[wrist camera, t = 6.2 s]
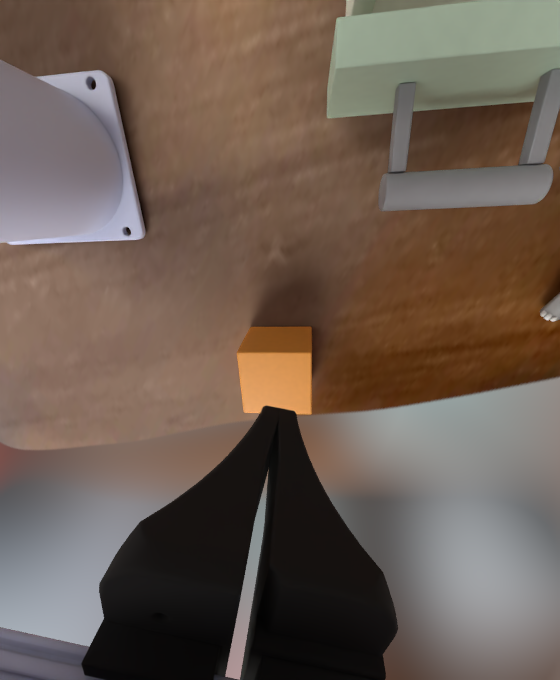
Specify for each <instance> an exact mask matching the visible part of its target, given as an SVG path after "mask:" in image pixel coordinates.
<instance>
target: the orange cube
mask: <svg viewBox="0 0 560 680" xmlns="http://www.w3.org/2000/svg"><path fill="white" fill-rule="evenodd" d="M237 358H238V367H239V375H240V384H241V393H242V401H243V410H244V412H245V413H260V412H261V410H262V408H263V407H264V406H266V405H267V406H272V407H277V408H282V409H287V410H292V411H295V413H296V414H312V327H250V329H249V331H248V333H247V334H246V336H245V338H244V340H243V342H242V344H241V346H240V348H239V349H238V351H237Z"/></svg>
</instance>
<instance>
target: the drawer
mask: <svg viewBox="0 0 560 680" xmlns="http://www.w3.org/2000/svg"><path fill="white" fill-rule="evenodd" d="M522 102H534V104H533V108H532V112H531V116H530V120H529V124H528V128H527V132H526V136H525V140H524V144H523V148H522V152H521V156H520V160H519V164H518V166H502V167H486V168H469V169H453V170H436V171H420V172H405V171H406V167H407V159H408V150H409V141H410V133H411V124H412V115H413V111H424V110H437V109H449V108H461V107H473V106H485V105H497V104H510V103H522ZM559 108H560V0H346V16H345V17H338V18H337V20H336V26H335V34H334V42H333V49H332V57H331V64H330V72H329V80H328V87H327V118H339V117H351V116H364V115H376V114H388V113H393V122H392V132H391V143H390V154H389V165H388V173H387V174H384V175H383V177H382V179H381V183H380V188H379V209H380V211H399V210H420V209H441V208H463V207H484V206H505V205H527V204H535V203H537V202H539V201H541V200H542V199H543V198H544V197H545V195H546V194H547V192H548V191H549V189H550V187H551V184H552V180H553V170H552V168H551V166H550V165H548V164H542V163H544V162H545V158H546V155H547V151H548V148H549V144H550V140H551V137H552V133H553V130H554V126H555V123H556V119H557V115H558V112H559Z"/></svg>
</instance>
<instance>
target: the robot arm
mask: <svg viewBox="0 0 560 680" xmlns="http://www.w3.org/2000/svg"><path fill="white" fill-rule="evenodd" d="M94 80H95V82H96V88H95V89H94V90H93V89H92V85H91V83H92V81H94ZM127 227H128V228H129V229H130V230H131V234H130V235H129V234H128V233H127V231H126V229H127ZM145 234H146V232H145V226H144V221H143V217H142V212H141V208H140V203H139V198H138V194H137V189H136V184H135V180H134V175H133V171H132V166H131V161H130V157H129V152H128V148H127V143H126V138H125V134H124V129H123V124H122V120H121V115H120V111H119V106H118V101H117V97H116V92H115V88H114V84H113V81H112V79H111V77H110V76H109V75H107V74H106V73H104V72H103V71H101V70H93V71H84V72H75V73H66V74H57V75H47V76H38V77H34V76H32V75H30V74H28V73H26V72H24V71H22V70H20V69H18V68H16V67H14V66H12V65H10V64H8V63H6V62H4V61H2V60H0V243H2V242H7V243H8V244H11V245H17V244H42V243H67V242H92V241H117V240H138V239H142V238H144V237H145ZM268 469H269V472H268ZM267 472H268V485H267V498H266V512H265V524H264V533H263V540H262V546H261V554H260V559H259V566H258V572H257V578H256V584H255V591H254V597H253V604H252V609H251V616H250V622H249V628H248V634H247V640H246V646H245V652H244V659H243V665H242V671H241V677H240V680H385V678H386V673H385V666H384V661H383V653H384V652H385V650H386V649H387V647H388V646H389V644H390V643H391V642H392V640H393V639H394V637H395V635H396V633H397V630H398V625H397V619H396V613H395V609H394V605H393V601H392V598H391V595H390V592H389V588H388V585H387V582H386V580H385V577H384V574H383V572H382V571H381V569H380V568H379V567H378V566H377V565H376V563H375V562H374V561H373V560H372V558H371V557H370V556H369V555H368V554H367V552H366V551H365V550H364V549H363V548H362V546H361V545H360V544H359V542H358V541H357V540H356V538H355V537H354V535H353V534H352V533H351V531H350V530H349V529H348V527H347V526H346V524H345V523H344V521H343V519H342V518H341V517H340V515H339V514H338V512H337V510H336V509H335V507H334V506H333V504H332V502H331V501H330V499H329V497H328V496H327V494H326V492H325V490H324V488H323V486H322V484H321V482H320V481H319V479H318V476H317V475H316V472H315V470H314V468H313V466H312V463H311V461H310V459H309V456H308V454H307V451H306V448H305V445H304V442H303V440H302V437H301V433H300V429H299V426H298V421H297V415H296V413H295V411H292V410H287V409H282V408H277V407H272V406H267V405H266V406H264V407H263V408H262V410H261V412H260V414H259V416H258V418H257V419H256V421H255V422H254V424H253V425H252V427H251V428H250V430H249V431H248V432H247V433H246V435H245V436H244V438H243V439H242V440H241V441H240V442H239V443H238V444H237V446H236V447H235V448H234V449H233V450H232V451H231V452H230V453H229V455H228V456H227V457H226V458H225V459H224V460H223V461H222V462H221V463H220V464H219V465H217V467H215V468H214V469H213V470H212V471H211V472H210V473H209V474H207V475H206V476H205V477H204V478H203V479H202V480H201V481H199V482H198V483H197V484H196V485H194V486H193V487H192V488H190V489H189V490H188V491H186V492H185V493H184V494H182V495H181V496H179V497H178V498H177V499H175V500H174V501H172V502H171V503H169V504H168V505H166V506H165V507H163V508H162V509H160V510H159V511H157V512H155V513H154V514H152V515H150V516H149V517H147V518H146V519H144V520H142V521H141V522H140V523H139V524H138V525H137V527H136V528H135V529H134V530H133V531H132V533H131V534H130V535H129V537H128V538H127V539H126V541H125V542H124V544H123V545H122V546H121V548H120V549H119V551H118V552H117V554H116V555H115V557H114V559H113V561H112V562H111V564H110V566H109V568H108V570H107V571H106V573H105V575H104V577H103V578H102V580H101V582H100V585H99V586H100V587H99V593H100V598H101V603H102V608H103V614H104V620H103V622H102V624H101V626H100V628H99V630H98V632H97V633H96V636H95V637H94V639H93V642H92V643H91V645H90V647H88V646H83V645H78V644H74V643H69V642H64V641H60V640H55V639H51V638H47V637H42V636H37V635H33V634H28V633H24V632H19V631H15V630H10V629H6V628H1V627H0V680H237V679H233V678H228V677H225V674H226V669H227V663H228V658H229V653H230V648H231V643H232V638H233V633H234V628H235V623H236V618H237V612H238V607H239V602H240V597H241V591H242V586H243V580H244V575H245V570H246V564H247V559H248V553H249V548H250V542H251V537H252V531H253V525H254V520H255V517H256V513H257V509H258V505H259V501H260V498H261V494H262V491H263V487H264V483H265V479H266V476H267Z"/></svg>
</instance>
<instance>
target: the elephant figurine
mask: <svg viewBox="0 0 560 680" xmlns="http://www.w3.org/2000/svg"><path fill="white" fill-rule="evenodd" d="M559 169H560V167H559ZM540 315H541V316H542V317H544V319H546V320H549V319H550V321H557V320H559V319H560V293H559V294H558V295H556V296H555V297H554V298H553V299H552V300H551V301H549V302H548V303H547V304H546V305H545V306H544V307H543V308H542V309H541V310H540Z"/></svg>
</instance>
